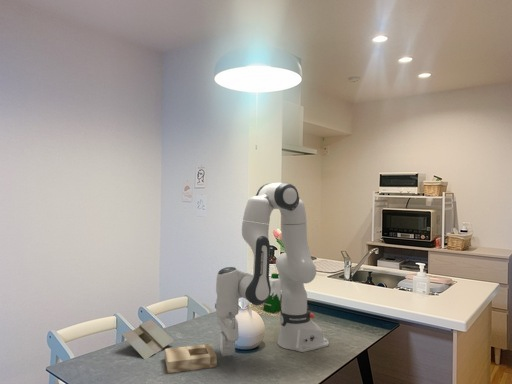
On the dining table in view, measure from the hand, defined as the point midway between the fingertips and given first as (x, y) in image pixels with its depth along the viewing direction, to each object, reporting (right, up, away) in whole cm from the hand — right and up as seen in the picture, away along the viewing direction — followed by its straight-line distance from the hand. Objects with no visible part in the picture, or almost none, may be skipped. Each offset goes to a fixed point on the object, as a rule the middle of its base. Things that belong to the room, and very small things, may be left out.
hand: (227, 343), depth 150 cm
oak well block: (-14, -6, -5) cm, 16 cm away
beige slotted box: (-34, -6, +8) cm, 35 cm away
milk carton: (+20, -6, +61) cm, 64 cm away
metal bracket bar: (0, -4, 0) cm, 4 cm away
